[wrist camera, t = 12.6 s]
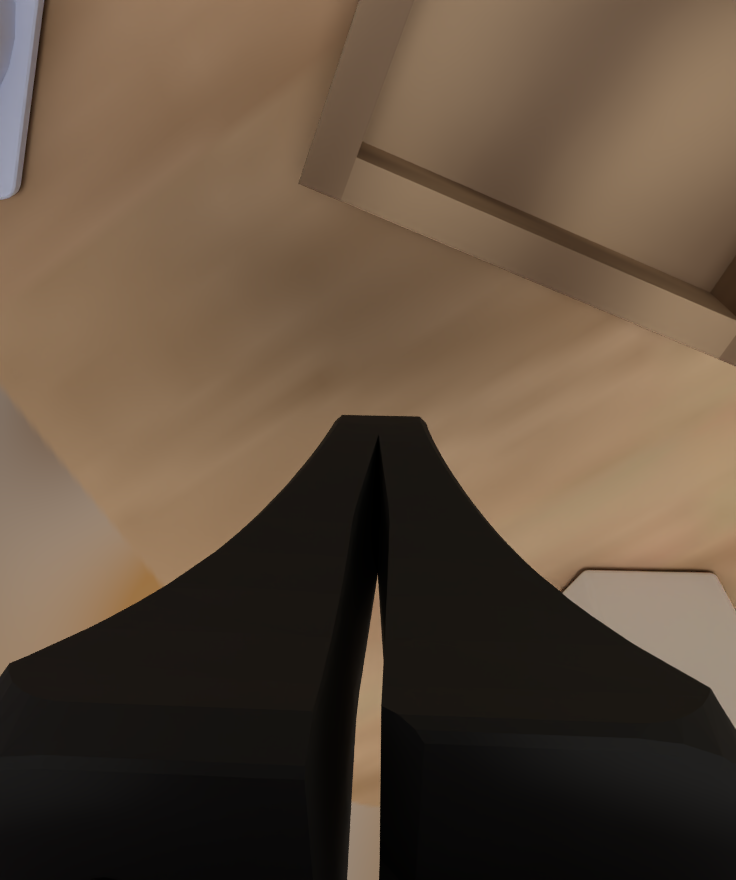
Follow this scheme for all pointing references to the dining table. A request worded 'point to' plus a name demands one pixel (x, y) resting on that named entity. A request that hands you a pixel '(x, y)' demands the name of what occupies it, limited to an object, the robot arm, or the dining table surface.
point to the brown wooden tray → (552, 146)
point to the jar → (669, 621)
